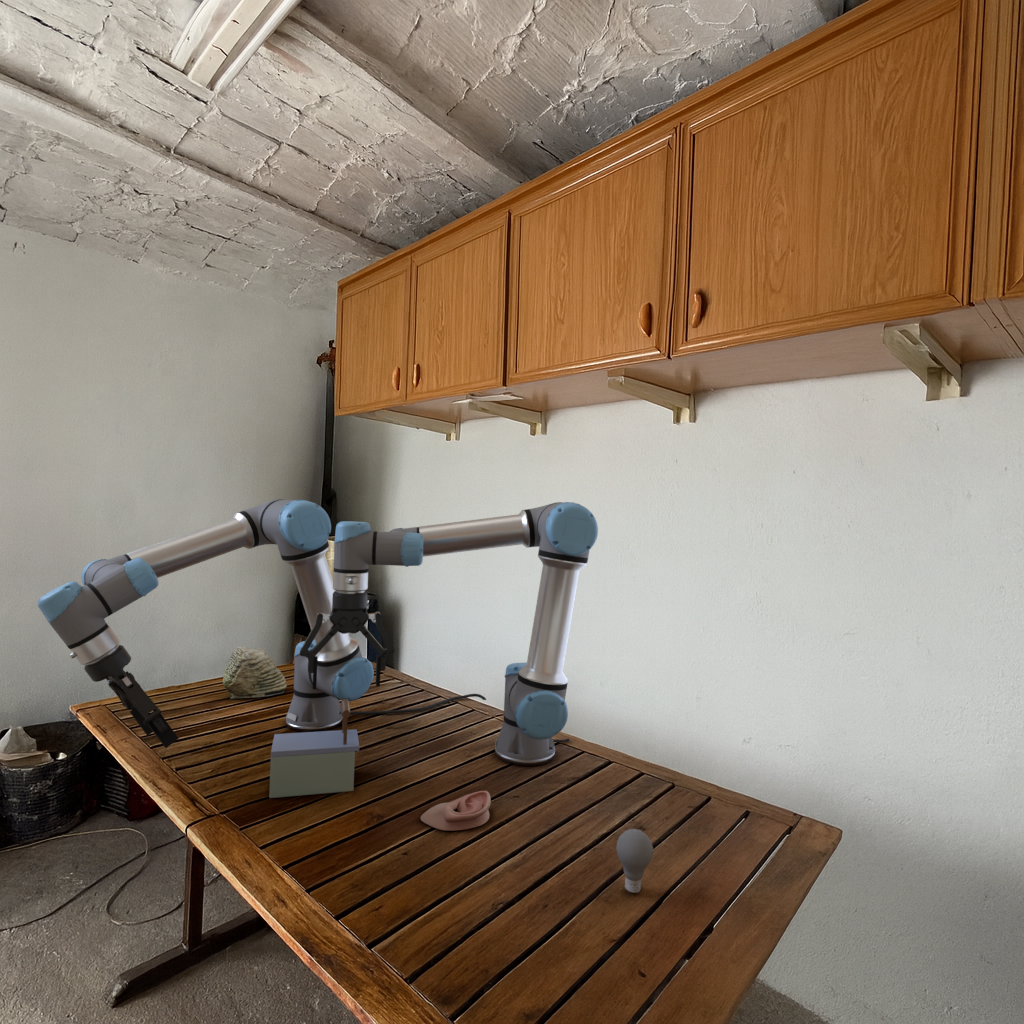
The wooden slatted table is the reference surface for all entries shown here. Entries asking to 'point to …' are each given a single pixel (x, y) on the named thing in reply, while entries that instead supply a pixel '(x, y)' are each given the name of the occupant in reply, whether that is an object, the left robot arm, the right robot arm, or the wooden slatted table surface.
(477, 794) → the anatomical model
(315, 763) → the chest
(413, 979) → the wooden slatted table surface
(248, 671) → the fossil
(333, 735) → the lid
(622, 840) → the light bulb
